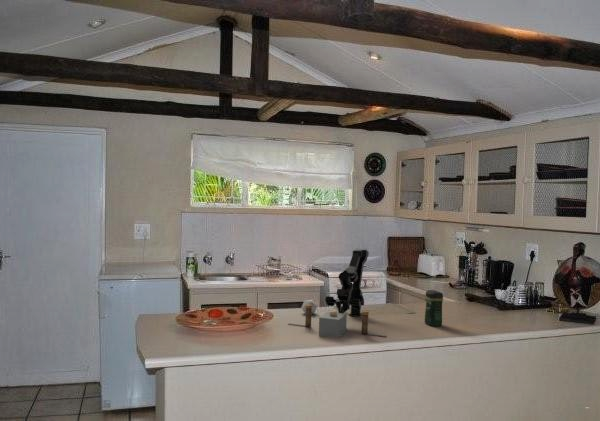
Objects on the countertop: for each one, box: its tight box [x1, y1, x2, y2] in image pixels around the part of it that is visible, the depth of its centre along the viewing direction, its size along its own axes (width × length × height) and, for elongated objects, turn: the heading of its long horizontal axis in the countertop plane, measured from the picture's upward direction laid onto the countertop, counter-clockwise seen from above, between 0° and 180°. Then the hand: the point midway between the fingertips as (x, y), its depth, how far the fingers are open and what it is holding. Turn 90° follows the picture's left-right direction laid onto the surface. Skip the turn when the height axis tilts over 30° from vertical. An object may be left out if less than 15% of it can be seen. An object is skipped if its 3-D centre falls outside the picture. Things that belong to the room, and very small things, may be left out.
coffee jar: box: [424, 289, 444, 327], centre depth 273 cm, size 10×8×19 cm
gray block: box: [318, 310, 348, 339], centre depth 250 cm, size 14×10×11 cm
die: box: [301, 299, 318, 315], centre depth 290 cm, size 8×9×10 cm
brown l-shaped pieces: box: [287, 305, 387, 338], centre depth 255 cm, size 3×52×11 cm, turn 68°
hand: (339, 316), depth 261 cm, fingers closed
